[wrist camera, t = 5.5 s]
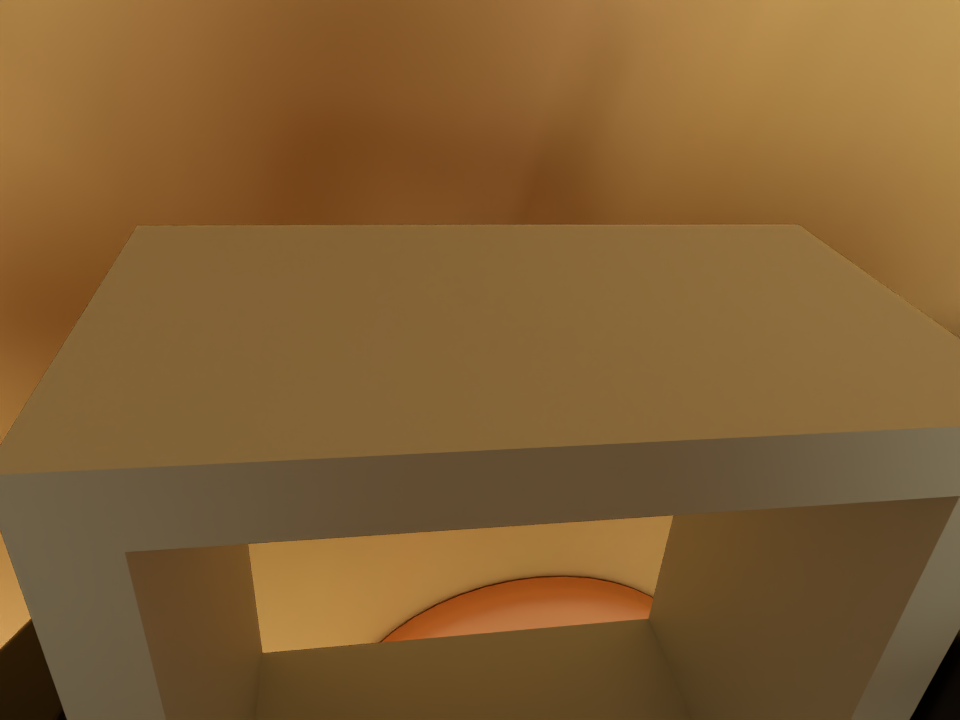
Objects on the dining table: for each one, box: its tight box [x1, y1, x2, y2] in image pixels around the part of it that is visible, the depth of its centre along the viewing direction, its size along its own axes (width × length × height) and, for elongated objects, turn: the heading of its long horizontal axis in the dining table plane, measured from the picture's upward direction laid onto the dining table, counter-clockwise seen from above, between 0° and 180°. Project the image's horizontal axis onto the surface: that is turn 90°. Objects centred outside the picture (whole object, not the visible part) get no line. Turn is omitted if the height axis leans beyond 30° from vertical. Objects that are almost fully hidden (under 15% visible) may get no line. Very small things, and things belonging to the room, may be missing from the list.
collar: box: [0, 224, 960, 720], centre depth 8 cm, size 7×7×4 cm
